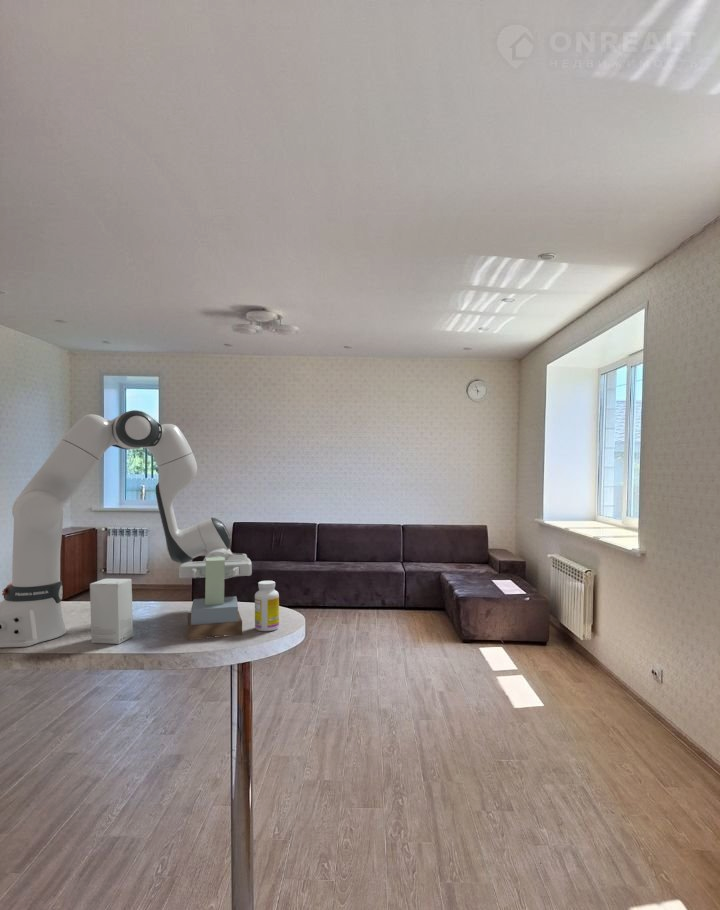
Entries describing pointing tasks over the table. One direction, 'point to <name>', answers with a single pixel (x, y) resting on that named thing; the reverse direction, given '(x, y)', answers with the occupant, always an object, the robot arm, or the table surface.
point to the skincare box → (111, 611)
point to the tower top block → (214, 611)
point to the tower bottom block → (213, 629)
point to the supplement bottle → (266, 607)
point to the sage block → (214, 581)
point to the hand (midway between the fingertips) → (214, 574)
